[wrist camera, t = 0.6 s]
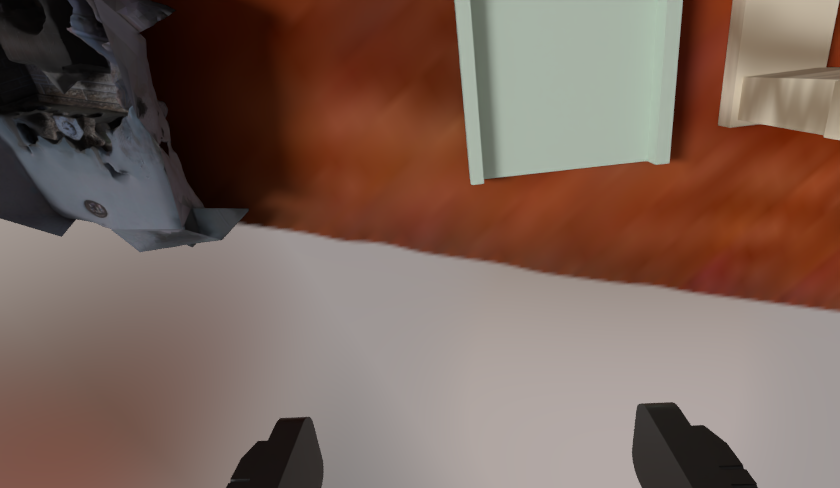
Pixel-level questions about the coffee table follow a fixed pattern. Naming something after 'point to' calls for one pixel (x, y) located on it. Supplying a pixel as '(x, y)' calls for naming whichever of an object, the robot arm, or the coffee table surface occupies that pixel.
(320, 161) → the coffee table surface
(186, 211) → the grey mechanical device
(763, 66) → the rack
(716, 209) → the coffee table surface
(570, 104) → the mat tray
